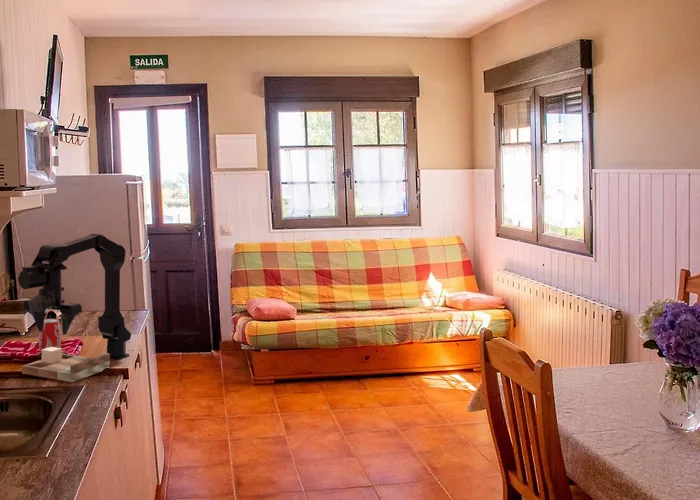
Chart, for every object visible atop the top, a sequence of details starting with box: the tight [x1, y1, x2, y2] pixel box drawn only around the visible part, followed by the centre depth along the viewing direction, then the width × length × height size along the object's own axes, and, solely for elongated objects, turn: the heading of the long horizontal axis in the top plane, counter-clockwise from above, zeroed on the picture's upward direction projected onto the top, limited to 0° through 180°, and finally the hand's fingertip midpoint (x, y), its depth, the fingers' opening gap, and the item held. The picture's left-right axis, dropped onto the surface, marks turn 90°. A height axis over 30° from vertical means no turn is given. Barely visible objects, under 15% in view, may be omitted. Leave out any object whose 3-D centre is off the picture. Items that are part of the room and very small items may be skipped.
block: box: [41, 347, 63, 363], centre depth 265 cm, size 4×4×4 cm
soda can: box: [38, 318, 61, 352], centre depth 282 cm, size 7×7×12 cm
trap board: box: [21, 352, 111, 383], centre depth 263 cm, size 18×20×5 cm
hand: (52, 332), depth 258 cm, fingers open, 9 cm apart
